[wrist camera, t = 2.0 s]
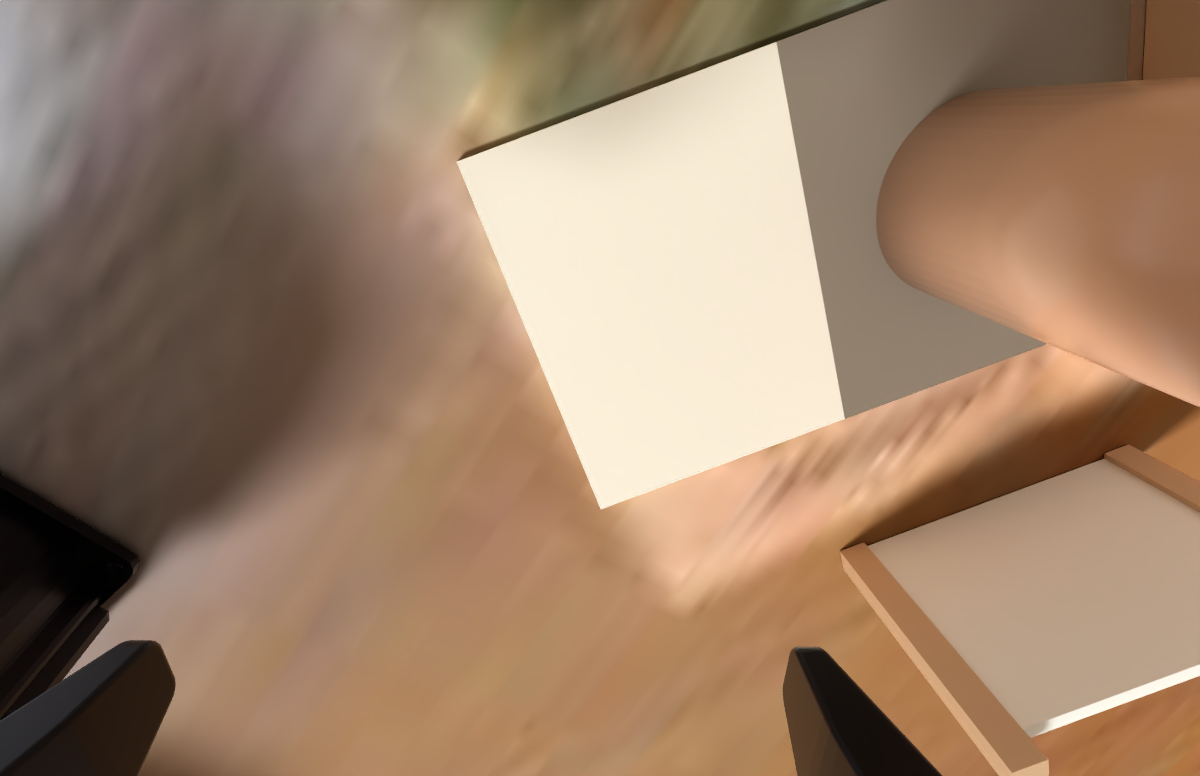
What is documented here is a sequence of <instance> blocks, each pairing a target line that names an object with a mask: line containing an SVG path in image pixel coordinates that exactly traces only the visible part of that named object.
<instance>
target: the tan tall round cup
mask: <svg viewBox="0 0 1200 776" xmlns="http://www.w3.org/2000/svg"><path fill="white" fill-rule="evenodd" d="M876 227H877V236H878V241H879V245H880V248H881V251H882V254H883V256H884V258H885V260H886V262H887V264H888V265H889V267H890V268H891V269H892V271H893V272H894V273H895V274H896V275H897V276H898V277H899V278H900V279H901V280H902V281H903V282H905V283H906V284H908V285H909V286H911V287H913V288H915V289H917V290H919V291H922V292H924V293H927V294H929V295H931V296H934V297H936V298H939V299H941V300H943V301H946V302H948V303H951V304H953V305H955V306H958V307H960V308H963V309H965V310H967V311H970V312H972V313H975V314H977V315H979V316H982V317H984V318H987V319H989V320H992V321H994V322H996V323H999V324H1001V325H1004V326H1006V327H1008V328H1011V329H1013V330H1016V331H1018V332H1020V333H1023V334H1025V335H1028V336H1030V337H1032V338H1035V339H1037V340H1040V341H1042V342H1044V343H1047V344H1049V345H1052V346H1054V347H1056V348H1059V349H1061V350H1064V351H1066V352H1068V353H1071V354H1073V355H1076V356H1078V357H1080V358H1083V359H1085V360H1088V361H1090V362H1092V363H1095V364H1097V365H1100V366H1102V367H1104V368H1107V369H1109V370H1112V371H1114V372H1116V373H1119V374H1121V375H1124V376H1126V377H1128V378H1131V379H1133V380H1136V381H1138V382H1141V383H1143V384H1145V385H1148V386H1150V387H1153V388H1155V389H1157V390H1160V391H1162V392H1165V393H1167V394H1169V395H1172V396H1174V397H1177V398H1179V399H1181V400H1184V401H1186V402H1189V403H1191V404H1193V405H1196V406H1198V407H1200V77H1187V78H1170V79H1153V80H1136V81H1118V82H1101V83H1084V84H1067V85H1050V86H1032V87H1015V88H998V89H986V90H979V91H974V92H971V93H967V94H964V95H962V96H959V97H957V98H955V99H952V100H950V101H949V102H947V103H945V104H944V105H942V106H940V107H938V108H937V109H936V110H935V111H933V112H932V113H931V114H929V115H928V116H927V117H926V118H924V119H923V120H922V121H921V122H920V123H919V124H918V125H917V126H916V127H915V128H914V129H913V130H912V132H911V133H910V134H909V135H908V136H907V137H906V139H905V140H904V142H903V143H902V144H901V146H900V147H899V149H898V150H897V152H896V154H895V155H894V157H893V159H892V161H891V163H890V164H889V167H888V169H887V172H886V174H885V176H884V179H883V182H882V185H881V189H880V192H879V197H878V203H877V212H876Z"/></svg>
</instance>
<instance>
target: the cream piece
mask: <svg viewBox="0 0 1200 776" xmlns="http://www.w3.org/2000/svg"><path fill="white" fill-rule="evenodd" d="M1129 21H1130V0H886V1H883V2H881V3H878V4H875V5H873V6H870V7H867V8H865V9H862V10H859V11H857V12H854V13H851V14H849V15H846V16H843V17H841V18H838V19H835V20H833V21H830V22H827V23H825V24H822V25H819V26H817V27H814V28H811V29H809V30H806V31H803V32H801V33H798V34H795V35H793V36H790V37H787V38H785V39H782V40H779V41H777V42H774V43H771V44H769V45H766V46H763V47H761V48H758V49H755V50H753V51H750V52H747V53H745V54H742V55H739V56H737V57H734V58H731V59H729V60H726V61H723V62H720V63H718V64H715V65H712V66H710V67H707V68H704V69H702V70H699V71H696V72H694V73H691V74H688V75H686V76H683V77H680V78H678V79H675V80H672V81H670V82H667V83H664V84H662V85H659V86H656V87H654V88H651V89H648V90H646V91H643V92H640V93H638V94H635V95H632V96H630V97H627V98H624V99H622V100H619V101H616V102H614V103H611V104H608V105H606V106H603V107H600V108H598V109H595V110H592V111H590V112H587V113H584V114H582V115H579V116H576V117H574V118H571V119H568V120H566V121H563V122H560V123H558V124H555V125H552V126H550V127H547V128H544V129H542V130H539V131H536V132H534V133H531V134H528V135H526V136H523V137H520V138H518V139H515V140H512V141H510V142H507V143H504V144H502V145H499V146H496V147H494V148H491V149H488V150H486V151H483V152H480V153H478V154H475V155H472V156H470V157H467V158H464V159H462V160H459V161H457V164H458V167H459V169H460V171H461V174H462V176H463V179H464V181H465V183H466V186H467V188H468V191H469V193H470V196H471V198H472V200H473V203H474V205H475V208H476V210H477V212H478V215H479V217H480V220H481V222H482V224H483V227H484V229H485V232H486V234H487V236H488V239H489V241H490V244H491V246H492V248H493V251H494V253H495V256H496V258H497V261H498V263H499V265H500V268H501V270H502V273H503V275H504V277H505V280H506V282H507V285H508V287H509V289H510V292H511V294H512V297H513V299H514V301H515V304H516V306H517V309H518V311H519V314H520V316H521V318H522V321H523V323H524V326H525V328H526V330H527V333H528V335H529V338H530V340H531V342H532V345H533V347H534V350H535V352H536V354H537V357H538V359H539V362H540V364H541V366H542V369H543V371H544V374H545V376H546V379H547V381H548V383H549V386H550V388H551V391H552V393H553V395H554V398H555V400H556V403H557V405H558V407H559V410H560V412H561V415H562V417H563V419H564V422H565V424H566V427H567V429H568V432H569V434H570V436H571V439H572V441H573V444H574V446H575V448H576V451H577V453H578V456H579V458H580V460H581V463H582V465H583V468H584V470H585V472H586V475H587V477H588V480H589V482H590V484H591V487H592V489H593V492H594V494H595V497H596V499H597V501H598V504H599V506H600V509H603V508H606V507H609V506H611V505H614V504H617V503H619V502H622V501H625V500H627V499H630V498H633V497H635V496H638V495H641V494H644V493H646V492H649V491H652V490H654V489H657V488H660V487H662V486H665V485H668V484H671V483H673V482H676V481H679V480H681V479H684V478H687V477H689V476H692V475H695V474H698V473H700V472H703V471H706V470H708V469H711V468H714V467H716V466H719V465H722V464H724V463H727V462H730V461H733V460H735V459H738V458H741V457H743V456H746V455H749V454H751V453H754V452H757V451H760V450H762V449H765V448H768V447H770V446H773V445H776V444H778V443H781V442H784V441H786V440H789V439H792V438H795V437H797V436H800V435H803V434H805V433H808V432H811V431H813V430H816V429H819V428H822V427H824V426H827V425H830V424H832V423H835V422H838V421H840V420H843V419H846V418H849V417H851V416H854V415H857V414H859V413H862V412H865V411H867V410H870V409H873V408H875V407H878V406H881V405H884V404H886V403H889V402H892V401H894V400H897V399H900V398H902V397H905V396H908V395H911V394H913V393H916V392H919V391H921V390H924V389H927V388H929V387H932V386H935V385H938V384H940V383H943V382H946V381H948V380H951V379H954V378H956V377H959V376H962V375H964V374H967V373H970V372H973V371H975V370H978V369H981V368H983V367H986V366H989V365H991V364H994V363H997V362H1000V361H1002V360H1005V359H1008V358H1010V357H1013V356H1016V355H1018V354H1021V353H1024V352H1027V351H1029V350H1032V349H1035V348H1037V347H1040V346H1043V345H1045V344H1047V343H1044V342H1042V341H1040V340H1037V339H1035V338H1032V337H1030V336H1028V335H1025V334H1023V333H1020V332H1018V331H1016V330H1013V329H1011V328H1008V327H1006V326H1004V325H1001V324H999V323H996V322H994V321H992V320H989V319H987V318H984V317H982V316H979V315H977V314H975V313H972V312H970V311H967V310H965V309H963V308H960V307H958V306H955V305H953V304H951V303H948V302H946V301H943V300H941V299H939V298H936V297H934V296H931V295H929V294H927V293H924V292H922V291H919V290H917V289H915V288H913V287H911V286H909V285H908V284H906V283H905V282H903V281H902V280H901V279H900V278H899V277H898V276H897V275H896V274H895V273H894V272H893V271H892V269H891V268H890V267H889V265H888V264H887V262H886V260H885V258H884V256H883V254H882V251H881V248H880V245H879V241H878V236H877V227H876V212H877V203H878V197H879V192H880V189H881V185H882V182H883V179H884V176H885V174H886V172H887V169H888V167H889V164H890V163H891V161H892V159H893V157H894V155H895V154H896V152H897V150H898V149H899V147H900V146H901V144H902V143H903V142H904V140H905V139H906V137H907V136H908V135H909V134H910V133H911V132H912V130H913V129H914V128H915V127H916V126H917V125H918V124H919V123H920V122H921V121H922V120H923V119H924V118H926V117H927V116H928V115H929V114H931V113H932V112H933V111H935V110H936V109H937V108H938V107H940V106H942V105H944V104H945V103H947V102H949V101H950V100H952V99H955V98H957V97H959V96H962V95H964V94H967V93H971V92H974V91H979V90H986V89H998V88H1015V87H1032V86H1050V85H1067V84H1084V83H1101V82H1118V81H1127V69H1128V45H1129ZM1187 77H1200V0H1147V7H1146V27H1145V46H1144V65H1143V80H1153V79H1170V78H1187ZM840 554H841V559H842V564H843V568H844V571H845V572H846V573H847V575H848V576H849V577H850V579H851V580H852V581H853V583H854V584H855V585H856V587H857V588H858V589H859V591H860V592H861V593H862V595H863V596H864V597H865V599H866V600H867V601H868V602H869V604H870V605H871V606H872V608H873V609H874V610H875V612H876V613H877V614H878V616H879V617H880V618H881V620H882V621H883V622H884V624H885V625H886V626H887V628H888V629H889V630H890V632H891V633H892V634H893V636H894V637H895V638H896V640H897V641H898V642H899V644H900V645H901V646H902V648H903V649H904V650H905V652H906V653H907V654H908V656H909V657H910V658H911V660H912V661H913V662H914V664H915V665H916V666H917V668H918V669H919V670H920V672H921V673H922V674H923V676H924V677H925V678H926V680H927V681H928V682H929V683H930V685H931V686H932V687H933V689H934V690H935V691H936V693H937V694H938V695H939V697H940V698H941V699H942V701H943V702H944V703H945V705H946V706H947V707H948V709H949V710H950V711H951V713H952V714H953V715H954V717H955V718H956V719H957V721H958V722H959V723H960V725H961V726H962V727H963V729H964V730H965V731H966V733H967V734H968V735H969V737H970V738H971V739H972V741H973V742H974V743H975V745H976V746H977V747H978V749H979V750H980V751H981V753H982V754H983V755H984V757H985V758H986V759H987V761H988V762H989V763H990V764H991V766H992V767H993V768H994V770H995V771H996V772H997V774H998V775H999V776H1049V768H1048V759H1047V757H1046V756H1045V755H1044V754H1043V753H1042V751H1041V750H1040V749H1039V748H1038V747H1037V746H1036V744H1035V743H1034V742H1033V741H1032V740H1031V739H1030V738H1031V737H1034V736H1037V735H1039V734H1042V733H1045V732H1047V731H1050V730H1053V729H1056V728H1058V727H1061V726H1064V725H1067V724H1069V723H1072V722H1075V721H1077V720H1080V719H1083V718H1086V717H1088V716H1091V715H1094V714H1097V713H1099V712H1102V711H1105V710H1107V709H1110V708H1113V707H1116V706H1118V705H1121V704H1124V703H1127V702H1129V701H1132V700H1135V699H1137V698H1140V697H1143V696H1146V695H1148V694H1151V693H1154V692H1156V691H1159V690H1162V689H1165V688H1167V687H1170V686H1173V685H1176V684H1178V683H1181V682H1184V681H1186V680H1189V679H1192V678H1195V677H1197V676H1200V481H1198V480H1196V479H1194V478H1192V477H1190V476H1188V475H1186V474H1184V473H1182V472H1180V471H1178V470H1177V469H1175V468H1173V467H1171V466H1169V465H1167V464H1165V463H1163V462H1161V461H1159V460H1157V459H1156V458H1154V457H1152V456H1150V455H1148V454H1146V453H1144V452H1142V451H1140V450H1138V449H1136V448H1135V447H1133V446H1131V445H1129V444H1128V445H1126V446H1123V447H1120V448H1118V449H1115V450H1112V451H1110V452H1107V453H1105V454H1104V459H1102V460H1099V461H1096V462H1093V463H1091V464H1088V465H1085V466H1083V467H1080V468H1077V469H1075V470H1072V471H1069V472H1066V473H1064V474H1061V475H1058V476H1056V477H1053V478H1050V479H1047V480H1045V481H1042V482H1039V483H1037V484H1034V485H1031V486H1028V487H1026V488H1023V489H1020V490H1018V491H1015V492H1012V493H1010V494H1007V495H1004V496H1001V497H999V498H996V499H993V500H991V501H988V502H985V503H982V504H980V505H977V506H974V507H972V508H969V509H966V510H964V511H961V512H958V513H955V514H953V515H950V516H947V517H945V518H942V519H939V520H936V521H934V522H931V523H928V524H926V525H923V526H920V527H918V528H915V529H912V530H909V531H907V532H904V533H901V534H899V535H896V536H893V537H890V538H888V539H885V540H882V541H880V542H877V543H874V544H872V545H869V546H867V545H866V544H865V543H864V542H863V543H861V544H858V545H855V546H852V547H850V548H847V549H844V550H842V551H840Z"/></svg>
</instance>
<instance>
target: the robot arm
mask: <svg viewBox="0 0 1200 776" xmlns="http://www.w3.org/2000/svg"><path fill="white" fill-rule="evenodd" d="M115 563H118V564H121V565H122V566H123V567H120V566H117V565H116V564H115ZM139 566H140V560H139V558H138V556H137V555H136V554H135V553H134V552H132V551H131V550H129V549H127V548H125V547H124V546H122V545H120V544H119V543H117V542H115V541H114V540H112V539H110V538H109V537H107V536H105V535H103V534H102V533H100V532H98V531H97V530H95V529H93V528H92V527H90V526H88V525H86V524H85V523H83V522H81V521H80V520H78V519H76V518H75V517H73V516H71V515H70V514H68V513H66V512H64V511H63V510H61V509H59V508H58V507H56V506H54V505H53V504H51V503H49V502H47V501H46V500H44V499H42V498H41V497H39V496H37V495H36V494H34V493H32V492H30V491H29V490H27V489H25V488H24V487H22V486H20V485H19V484H17V483H15V482H14V481H12V480H10V479H8V478H7V477H5V476H3V475H2V474H0V776H138V774H139V772H140V769H141V767H142V765H143V763H144V761H145V758H146V756H147V754H148V752H149V749H150V747H151V745H152V743H153V741H154V738H155V736H156V734H157V732H158V729H159V727H160V725H161V723H162V721H163V718H164V716H165V714H166V712H167V709H168V707H169V705H170V703H171V701H172V698H173V695H174V692H175V677H174V675H173V672H172V670H171V668H170V665H169V663H168V661H167V658H166V656H165V654H164V651H163V649H162V647H161V645H160V644H159V643H157V642H156V641H151V640H130V641H125V642H123V643H120V644H119V645H117V646H115V647H114V648H112V649H111V650H109V651H107V652H106V653H104V654H103V655H101V656H100V657H98V658H97V659H95V660H94V661H92V662H90V663H89V664H87V665H86V666H84V667H83V668H81V669H80V670H78V671H77V672H75V673H73V674H72V675H70V676H69V677H67V678H66V679H64V677H65V676H66V675H67V674H68V672H69V671H70V670H71V668H72V667H73V666H74V665H75V663H76V662H77V661H78V659H79V658H80V657H81V656H82V654H83V653H84V652H85V651H86V649H87V648H88V647H89V645H90V644H91V643H92V642H93V640H94V639H95V638H96V636H97V635H98V634H99V633H100V631H101V630H102V629H103V628H104V626H105V625H106V624H107V622H108V621H109V611H108V610H106V609H104V608H102V607H101V605H102V604H103V603H104V602H105V601H106V600H107V599H109V598H110V597H111V596H112V595H113V594H114V593H115V592H116V591H117V590H118V589H119V588H120V587H121V586H122V585H123V584H125V583H126V582H127V581H128V580H129V579H130V578H131V577H132V575H133V574H134V573H135V572H136V570H137V569H138V568H139ZM63 679H64V680H63ZM62 680H63V681H62ZM783 700H784V706H785V712H786V717H787V722H788V727H789V733H790V738H791V743H792V749H793V754H794V759H795V765H796V770H797V775H798V776H942V775H941V774H940V773H939V772H938V771H937V769H936V768H935V767H934V766H933V765H932V764H931V763H930V762H929V761H928V760H927V759H926V758H925V757H924V756H923V755H922V753H921V752H920V751H919V750H918V749H917V748H916V747H915V746H914V745H913V744H912V743H911V742H910V741H909V740H908V739H907V737H906V736H905V735H904V734H903V733H902V732H901V731H900V730H899V729H898V728H897V727H896V726H895V725H894V724H893V722H892V721H891V720H890V719H889V718H888V717H887V716H886V715H885V714H884V713H883V712H882V711H881V710H880V709H879V708H878V706H877V705H876V704H875V703H874V702H873V701H872V700H871V699H870V698H869V697H868V696H867V695H866V694H865V693H864V692H863V690H862V689H861V688H860V687H859V686H858V685H857V684H856V683H855V682H854V681H853V680H852V679H851V678H850V677H849V676H848V674H847V673H846V672H845V671H844V670H843V669H842V668H841V667H840V666H839V665H838V664H837V663H836V662H835V661H834V659H833V658H832V657H831V656H830V655H829V654H828V653H827V652H826V651H825V650H823V649H822V648H820V647H794V648H793V649H792V650H791V652H790V656H789V660H788V665H787V670H786V674H785V679H784V684H783Z"/></svg>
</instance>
